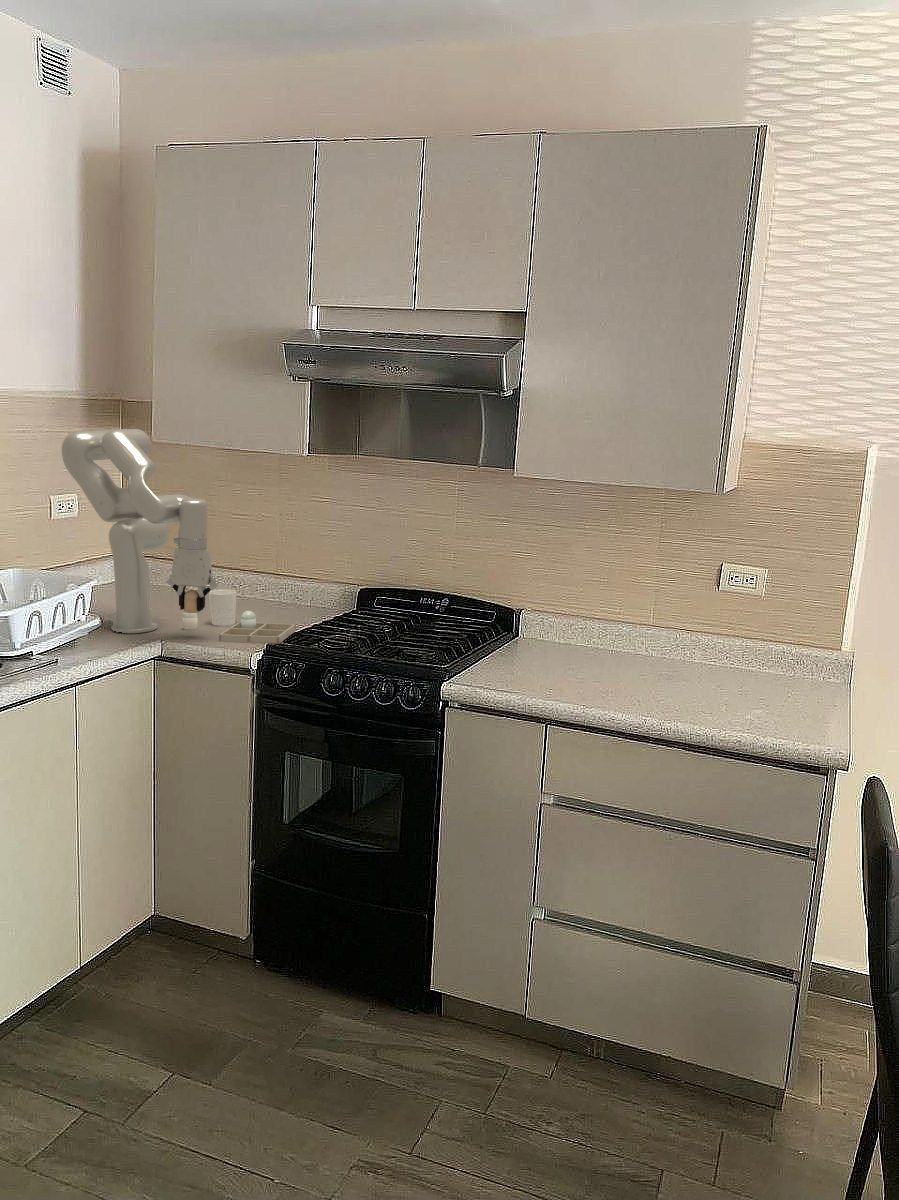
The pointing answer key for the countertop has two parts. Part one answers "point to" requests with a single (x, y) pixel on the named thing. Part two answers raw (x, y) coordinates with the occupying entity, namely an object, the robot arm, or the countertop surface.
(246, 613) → the green egg
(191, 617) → the white egg
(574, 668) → the countertop surface
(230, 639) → the egg tray
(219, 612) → the white cup
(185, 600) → the brown egg
